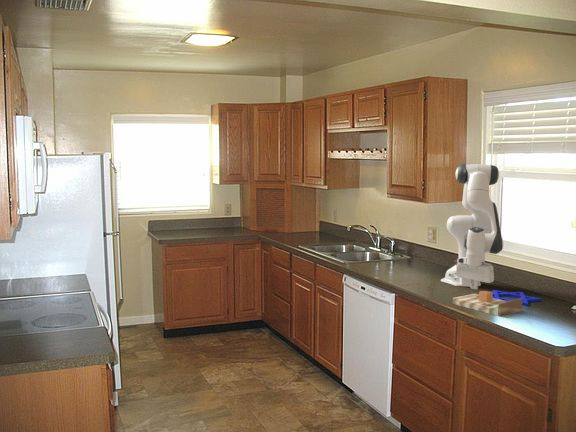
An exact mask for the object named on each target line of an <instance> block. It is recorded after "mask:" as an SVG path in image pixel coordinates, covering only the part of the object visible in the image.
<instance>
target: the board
mask: <svg viewBox="0 0 576 432" xmlns="http://www.w3.org/2000/svg"><path fill="white" fill-rule="evenodd" d="M514 299H515V298H514ZM452 305H455V306H459V307H462V308H467V309H470V310H474V311H479V312H481V313H486V314H489V315H494V316H496V315H497V317H503V315H504V316H507V314H508V315H511V313H512V314H515V312H516V313H521V312H523V305H522V298H516V299H515V300H511V301H504V300H500V299H495V298H492V302H487V303H486V302H482V301H479V293H471V294H467V295H466V294H465V295H462V296H457V297H452Z"/></svg>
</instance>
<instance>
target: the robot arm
mask: <svg viewBox="0 0 576 432" xmlns="http://www.w3.org/2000/svg"><path fill="white" fill-rule="evenodd" d="M455 178H456V179H455V180H456V182H457V183H459V184H461V185H463V190H462V191H463V192H462V201H461V203H462V207H463V208H464V209H466V210H467V211H469V212H471V214H470V215H463V214H462V215H453V216H452V215H451V216H450V217H449V218H448V219H447V221H446V229H447V231H448V232H449V233H450V234H451V235H452V236H453V237H454V239H455V240H456V242H457V247H458V258H457V259H455V260H454V261H453V262H454V263H455V264H454V265H453V266H452V267H450V268H449V269H447V270H446V272H445V275H444V277H443V278H441V279H440V282H442V283H446V284H448V285H452V286H455V287H466V288H467V287H469V288H470V289H472V290H478V289H479V287H480V286H481V285H482V283H488V284H491V283H493V282H494V281H495V273H494V266H493V264H491V262H489V263H488V262H486V261H485V259H486V254H492V255H493V254H494V255H496V254H499V253H500V252H502V251H503V249H504V239H503V236H502V232H501V227H500V226H501V225H500V219H499V213H498V208H497V205H496V203H495V202H493V201H492V199H491V196H490V186H493V185H496V184H497V183H498V180H499V178H500V170H499V167H498V166H496V165H493V164H490V165H488V164H483V163H478V164H477V163H472V164H471V163H469V164H467V163H466V164H465V163H463V164H459V165H458V166H457V168H456V170H455ZM485 253H486V254H485ZM481 282H482V283H481Z"/></svg>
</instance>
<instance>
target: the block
mask: <svg viewBox="0 0 576 432" xmlns="http://www.w3.org/2000/svg"><path fill="white" fill-rule="evenodd" d="M478 294H479V301H482V302H486V303H487V302H492V298H493V291H489V290H481V291H479V292H478Z"/></svg>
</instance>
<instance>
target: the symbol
mask: <svg viewBox="0 0 576 432" xmlns="http://www.w3.org/2000/svg"><path fill="white" fill-rule="evenodd" d="M492 292H493V298H495V299H500V300H504V301H511V300H515V298H516V299H520V298H522V306H526V307H529V303H536V302H542V298H539V297H533V296H528V295H525V293H524V292H523V291H516V292H508V291H507V292H506V291H501V290H495V289H493V290H492ZM501 296H503V297H501ZM505 297H511V298H514V299H510V298H505Z"/></svg>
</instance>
